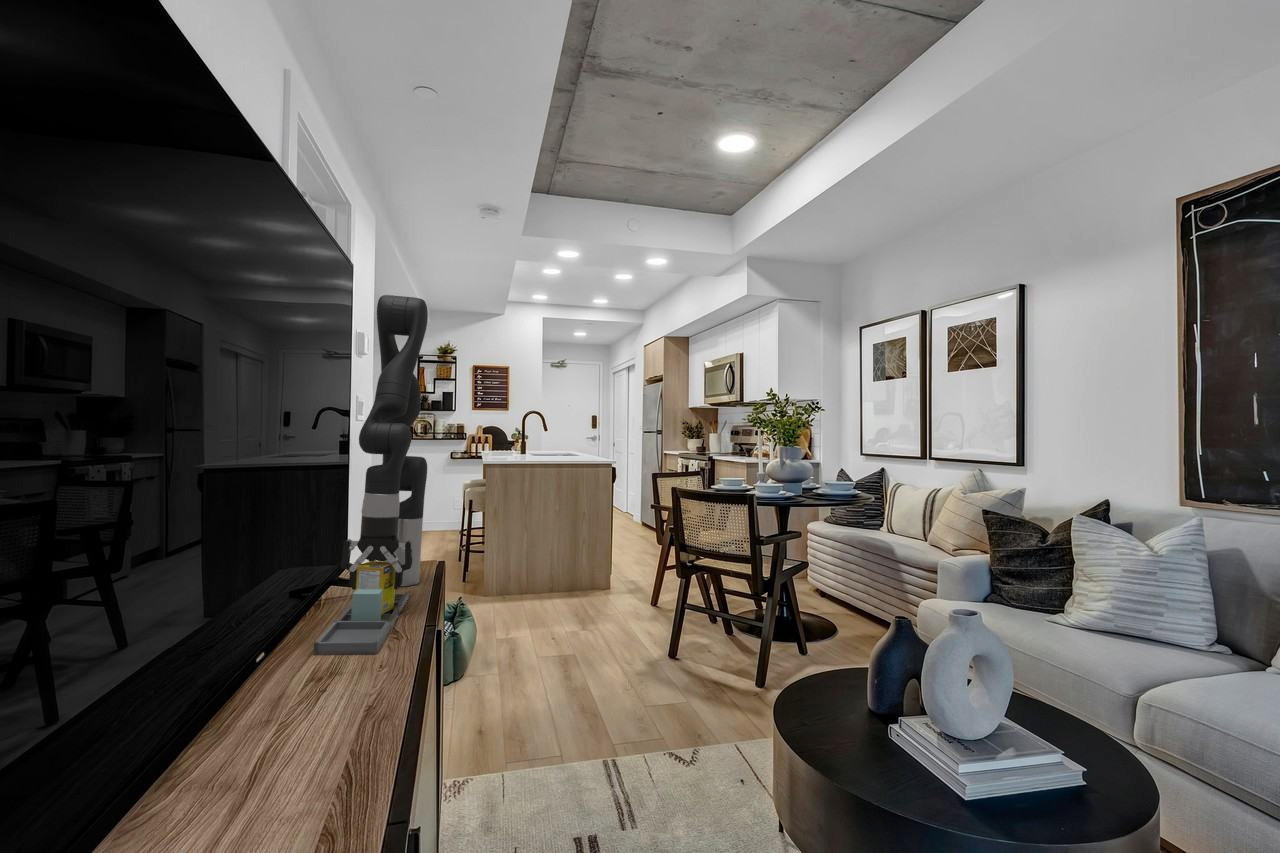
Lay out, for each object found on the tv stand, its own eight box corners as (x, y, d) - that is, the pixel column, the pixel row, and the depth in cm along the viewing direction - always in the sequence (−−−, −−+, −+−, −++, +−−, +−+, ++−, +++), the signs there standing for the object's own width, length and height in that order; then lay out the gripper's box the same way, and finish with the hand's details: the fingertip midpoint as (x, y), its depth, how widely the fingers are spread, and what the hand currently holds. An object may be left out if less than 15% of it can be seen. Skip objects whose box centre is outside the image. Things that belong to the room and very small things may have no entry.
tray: (333, 631, 125) (334, 621, 125) (389, 630, 127) (390, 620, 127) (313, 654, 112) (314, 643, 112) (376, 653, 114) (377, 642, 114)
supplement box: (393, 611, 141) (397, 562, 141) (380, 619, 135) (383, 567, 135) (368, 609, 142) (371, 560, 142) (353, 616, 136) (357, 565, 136)
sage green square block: (355, 623, 131) (357, 588, 132) (380, 622, 132) (382, 589, 133) (350, 628, 128) (352, 593, 128) (376, 628, 129) (379, 593, 129)
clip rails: (360, 599, 149) (361, 592, 150) (408, 599, 152) (408, 592, 152) (332, 631, 125) (333, 623, 125) (389, 631, 127) (390, 623, 127)
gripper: (417, 513, 144) (412, 585, 143) (349, 510, 141) (344, 584, 140) (412, 516, 137) (407, 593, 136) (341, 514, 134) (335, 592, 133)
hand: (375, 588), depth 138 cm, fingers open, 8 cm apart
